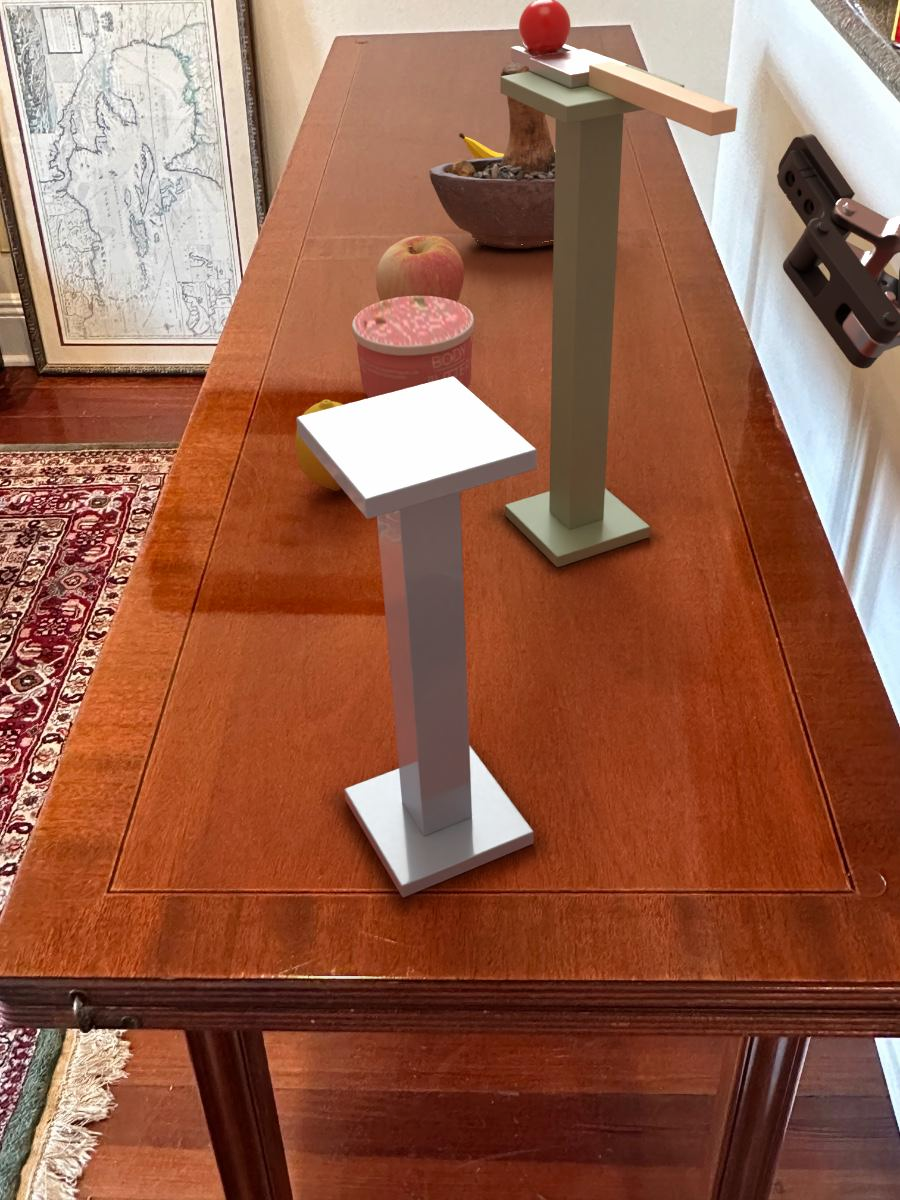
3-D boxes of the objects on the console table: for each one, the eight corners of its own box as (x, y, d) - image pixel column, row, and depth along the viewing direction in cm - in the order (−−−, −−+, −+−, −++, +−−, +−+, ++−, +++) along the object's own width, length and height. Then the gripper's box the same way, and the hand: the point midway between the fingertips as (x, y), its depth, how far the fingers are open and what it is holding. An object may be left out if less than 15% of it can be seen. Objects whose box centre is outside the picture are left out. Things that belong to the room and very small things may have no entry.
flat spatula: (754, 127, 63) (762, 54, 60) (691, 140, 61) (697, 65, 59) (558, 52, 77) (559, -10, 75) (504, 60, 76) (503, -2, 74)
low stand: (534, 843, 66) (537, 449, 51) (402, 898, 63) (365, 499, 48) (468, 753, 72) (453, 375, 57) (345, 800, 69) (295, 416, 54)
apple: (468, 302, 125) (466, 226, 120) (460, 338, 118) (458, 260, 113) (386, 301, 125) (380, 226, 121) (373, 338, 118) (367, 260, 114)
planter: (425, 247, 137) (416, 61, 125) (528, 209, 146) (528, 32, 134) (516, 281, 128) (516, 85, 116) (620, 239, 137) (629, 52, 125)
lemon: (291, 504, 95) (279, 415, 90) (314, 468, 99) (303, 381, 94) (358, 511, 93) (349, 421, 88) (378, 475, 98) (371, 387, 93)
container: (466, 371, 112) (464, 290, 107) (484, 424, 104) (483, 339, 99) (355, 382, 111) (347, 300, 106) (364, 437, 103) (356, 351, 98)
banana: (607, 177, 154) (610, 127, 151) (461, 187, 153) (460, 136, 150) (603, 170, 157) (605, 120, 153) (459, 180, 156) (458, 130, 152)
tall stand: (649, 537, 89) (685, 84, 70) (557, 568, 86) (567, 106, 67) (592, 487, 95) (611, 57, 75) (504, 515, 92) (499, 76, 73)
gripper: (1272, 330, 47) (1039, 38, 52) (1002, 421, 42) (776, 90, 47) (1138, 434, 53) (943, 166, 59) (892, 523, 49) (704, 223, 54)
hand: (869, 133), depth 53 cm, fingers open, 8 cm apart
